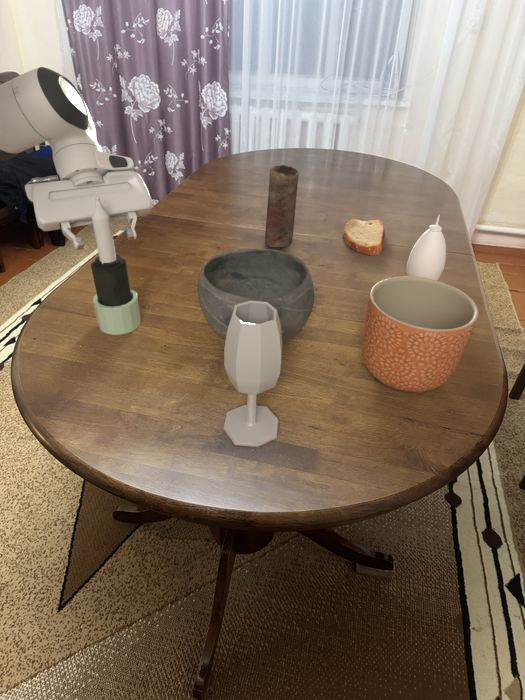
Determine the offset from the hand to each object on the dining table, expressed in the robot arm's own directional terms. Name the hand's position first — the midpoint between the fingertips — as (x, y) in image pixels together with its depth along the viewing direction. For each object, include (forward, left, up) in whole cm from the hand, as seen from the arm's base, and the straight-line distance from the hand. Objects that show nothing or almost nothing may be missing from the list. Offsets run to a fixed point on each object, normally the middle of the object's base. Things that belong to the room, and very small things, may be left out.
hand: (106, 243), depth 83 cm
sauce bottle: (+68, -1, -17) cm, 70 cm away
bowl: (+25, -11, -17) cm, 32 cm away
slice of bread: (+69, +28, -17) cm, 76 cm away
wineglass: (+18, -34, -17) cm, 42 cm away
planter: (+48, -28, -17) cm, 58 cm away
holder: (0, 0, -17) cm, 17 cm away
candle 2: (+43, +29, -17) cm, 54 cm away
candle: (0, 0, -16) cm, 16 cm away
